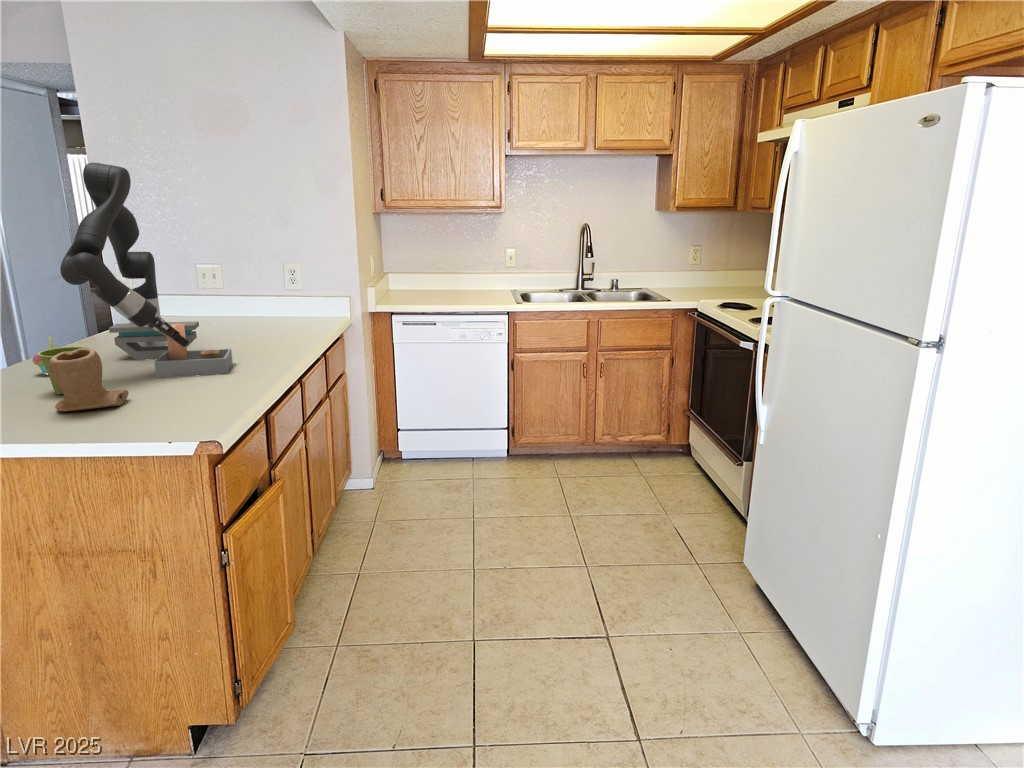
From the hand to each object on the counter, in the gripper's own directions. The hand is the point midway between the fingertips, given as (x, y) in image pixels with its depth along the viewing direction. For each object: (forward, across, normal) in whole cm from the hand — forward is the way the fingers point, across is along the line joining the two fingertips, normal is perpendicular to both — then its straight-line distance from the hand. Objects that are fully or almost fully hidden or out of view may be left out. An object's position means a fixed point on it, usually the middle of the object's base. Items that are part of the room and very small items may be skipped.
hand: (183, 342), depth 198 cm
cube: (+10, -4, +1) cm, 11 cm away
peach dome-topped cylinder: (+2, 0, +5) cm, 5 cm away
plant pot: (-16, -4, +28) cm, 33 cm away
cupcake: (-15, +22, +28) cm, 38 cm away
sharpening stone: (+7, +25, +6) cm, 27 cm away
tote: (+8, -2, +4) cm, 9 cm away
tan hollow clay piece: (-16, -24, +28) cm, 41 cm away
